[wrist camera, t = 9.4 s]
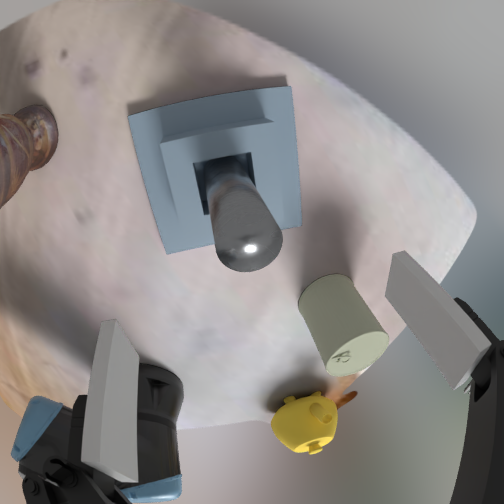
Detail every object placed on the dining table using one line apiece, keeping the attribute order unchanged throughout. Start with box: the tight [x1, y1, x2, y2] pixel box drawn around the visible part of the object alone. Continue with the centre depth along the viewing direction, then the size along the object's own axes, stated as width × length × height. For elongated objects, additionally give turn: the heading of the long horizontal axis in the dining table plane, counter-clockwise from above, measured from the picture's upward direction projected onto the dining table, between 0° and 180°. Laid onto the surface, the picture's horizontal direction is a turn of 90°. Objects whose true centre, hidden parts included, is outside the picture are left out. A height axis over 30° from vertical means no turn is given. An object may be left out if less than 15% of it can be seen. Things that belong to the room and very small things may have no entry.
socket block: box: [128, 86, 302, 254], centre depth 28 cm, size 16×16×4 cm
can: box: [298, 274, 389, 376], centre depth 38 cm, size 9×9×12 cm
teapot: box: [271, 391, 338, 454], centre depth 55 cm, size 20×16×14 cm
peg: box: [203, 156, 283, 272], centre depth 23 cm, size 4×4×14 cm
